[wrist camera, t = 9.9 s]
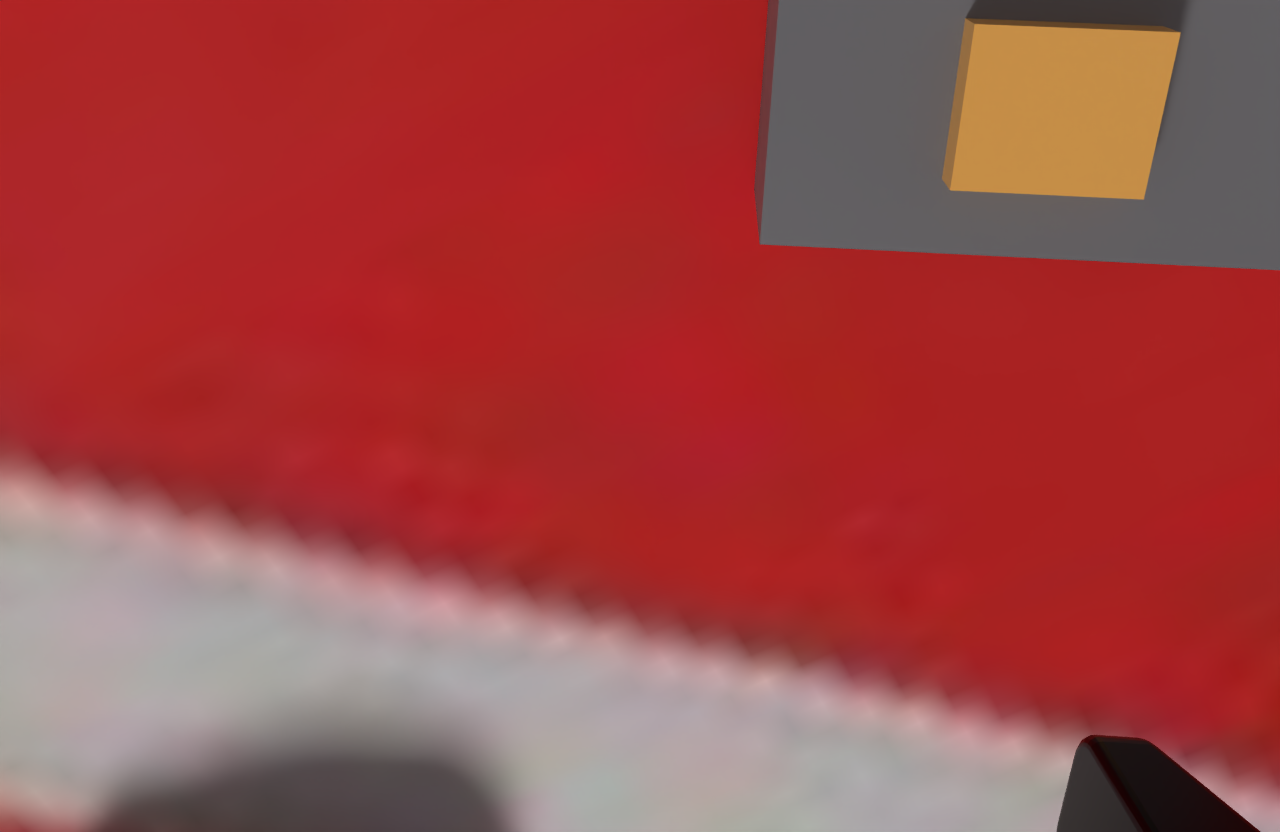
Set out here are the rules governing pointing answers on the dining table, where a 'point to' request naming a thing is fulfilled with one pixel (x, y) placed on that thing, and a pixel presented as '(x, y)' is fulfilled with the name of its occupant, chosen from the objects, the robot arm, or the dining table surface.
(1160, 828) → the robot arm
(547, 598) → the dining table surface
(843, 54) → the power strip
